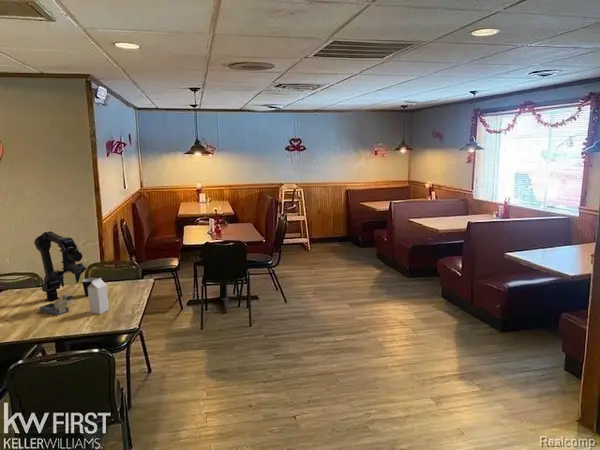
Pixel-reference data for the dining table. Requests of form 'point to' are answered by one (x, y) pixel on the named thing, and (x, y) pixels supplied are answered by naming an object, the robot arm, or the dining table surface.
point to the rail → (51, 311)
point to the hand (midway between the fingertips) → (70, 284)
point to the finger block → (67, 298)
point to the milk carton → (98, 296)
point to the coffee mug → (87, 285)
